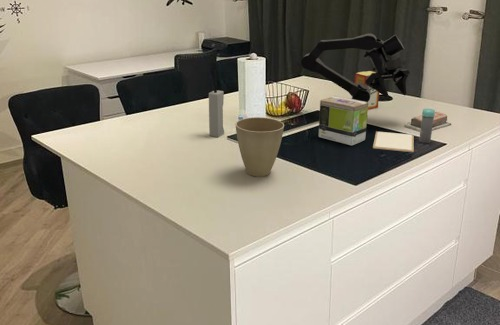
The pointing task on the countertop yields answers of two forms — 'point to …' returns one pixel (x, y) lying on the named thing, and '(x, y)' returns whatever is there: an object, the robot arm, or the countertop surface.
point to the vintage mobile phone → (216, 111)
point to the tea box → (343, 120)
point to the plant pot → (259, 143)
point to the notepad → (394, 141)
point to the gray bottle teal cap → (426, 125)
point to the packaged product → (437, 122)
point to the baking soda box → (374, 94)
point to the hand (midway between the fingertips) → (396, 96)
